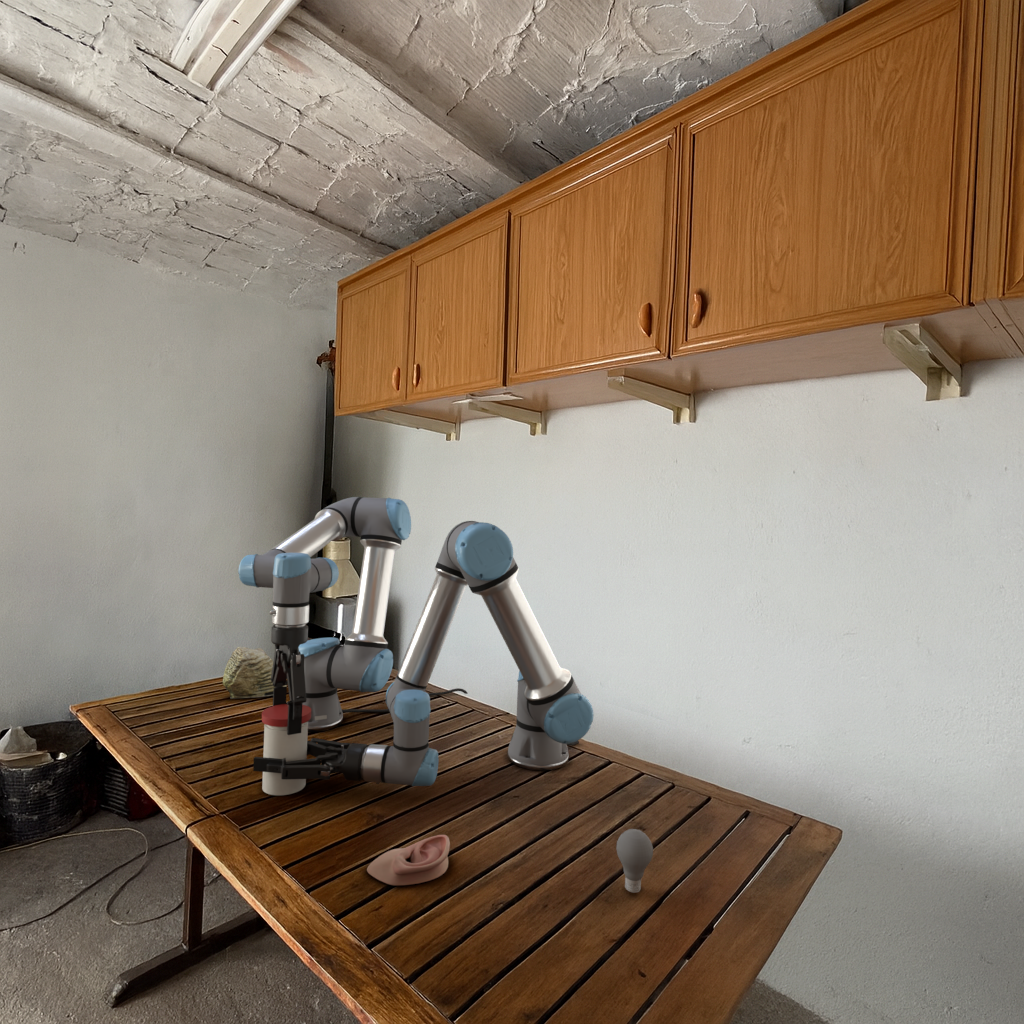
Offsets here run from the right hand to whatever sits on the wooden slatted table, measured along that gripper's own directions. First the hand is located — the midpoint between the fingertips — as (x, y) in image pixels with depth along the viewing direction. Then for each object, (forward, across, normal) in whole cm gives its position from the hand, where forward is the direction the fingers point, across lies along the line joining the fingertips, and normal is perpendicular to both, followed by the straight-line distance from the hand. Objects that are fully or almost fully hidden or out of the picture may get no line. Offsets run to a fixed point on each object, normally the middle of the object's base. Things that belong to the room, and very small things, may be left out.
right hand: (265, 754), depth 138 cm
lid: (-5, 0, +10) cm, 11 cm away
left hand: (-5, 0, +7) cm, 8 cm away
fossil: (+31, +57, -6) cm, 66 cm away
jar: (-5, 0, -6) cm, 8 cm away
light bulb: (-77, -27, -6) cm, 82 cm away
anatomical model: (-39, -26, -6) cm, 47 cm away
